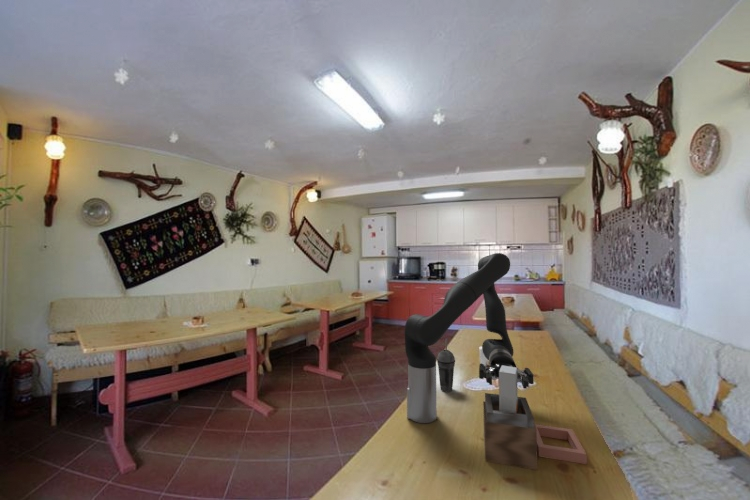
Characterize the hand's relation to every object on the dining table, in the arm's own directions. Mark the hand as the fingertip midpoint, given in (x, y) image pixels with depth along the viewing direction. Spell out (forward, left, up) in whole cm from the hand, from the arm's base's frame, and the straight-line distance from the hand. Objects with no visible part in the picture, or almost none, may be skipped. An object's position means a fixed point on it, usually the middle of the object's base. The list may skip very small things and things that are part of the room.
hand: (507, 383), depth 83 cm
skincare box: (0, +2, -9) cm, 9 cm away
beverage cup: (-19, +38, -19) cm, 47 cm away
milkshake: (-3, +72, -19) cm, 74 cm away
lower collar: (+13, +8, -19) cm, 24 cm away
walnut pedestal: (0, +2, -19) cm, 19 cm away
